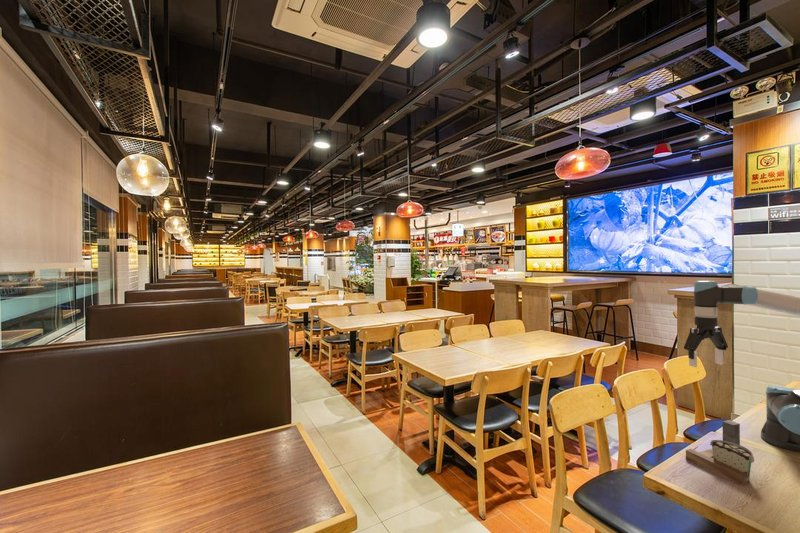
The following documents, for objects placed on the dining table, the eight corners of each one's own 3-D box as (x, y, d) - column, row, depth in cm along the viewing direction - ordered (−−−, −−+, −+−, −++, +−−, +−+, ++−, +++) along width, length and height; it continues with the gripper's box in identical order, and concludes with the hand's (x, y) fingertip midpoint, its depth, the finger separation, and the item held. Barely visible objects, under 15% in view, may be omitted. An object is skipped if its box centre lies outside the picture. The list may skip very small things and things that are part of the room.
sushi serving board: (729, 446, 143) (728, 419, 143) (786, 470, 127) (785, 439, 127) (685, 458, 135) (685, 430, 135) (740, 485, 119) (740, 452, 119)
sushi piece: (763, 482, 120) (763, 453, 120) (752, 486, 118) (751, 456, 118) (720, 463, 132) (720, 436, 132) (710, 466, 130) (709, 439, 130)
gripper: (719, 314, 156) (720, 361, 156) (673, 316, 152) (673, 364, 152) (738, 316, 149) (739, 365, 149) (690, 318, 144) (690, 369, 144)
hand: (706, 365), depth 150 cm, fingers open, 13 cm apart
